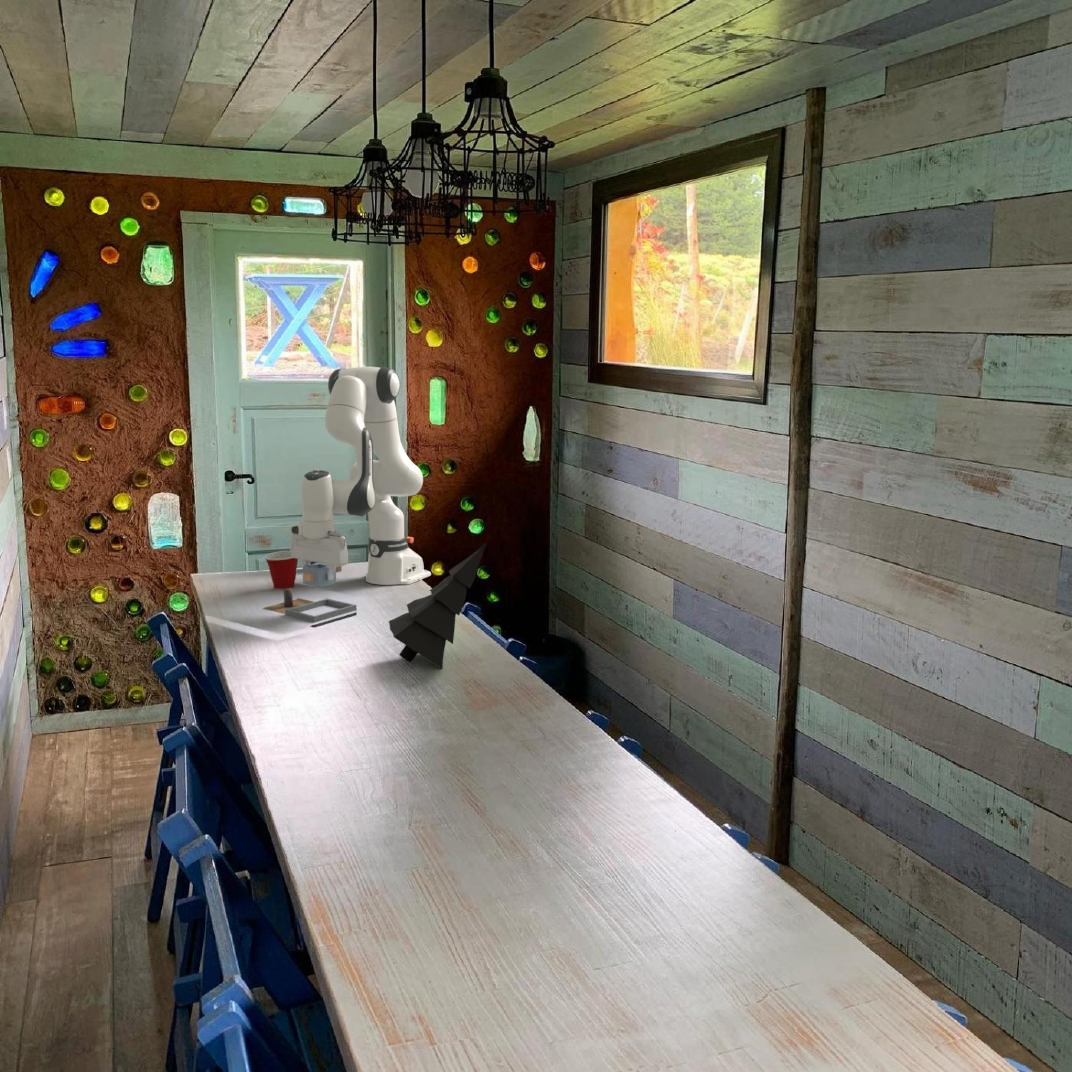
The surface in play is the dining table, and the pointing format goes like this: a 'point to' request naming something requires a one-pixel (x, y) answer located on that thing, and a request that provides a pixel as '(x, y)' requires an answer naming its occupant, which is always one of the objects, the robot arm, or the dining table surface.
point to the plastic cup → (282, 569)
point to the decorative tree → (436, 614)
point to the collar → (317, 575)
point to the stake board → (281, 606)
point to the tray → (344, 609)
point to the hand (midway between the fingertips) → (319, 577)
